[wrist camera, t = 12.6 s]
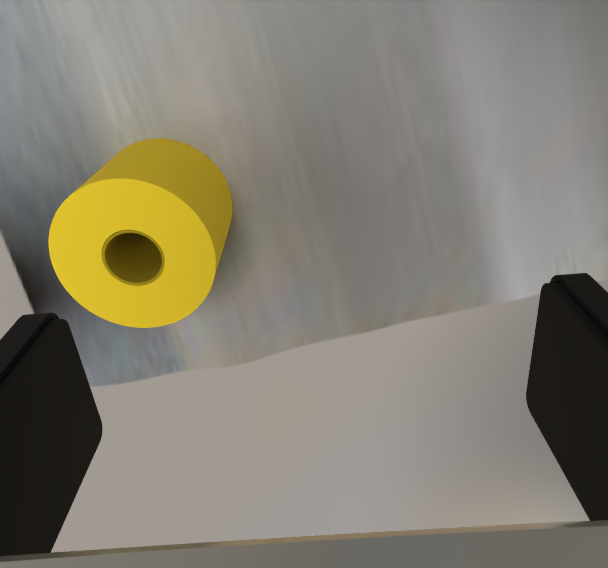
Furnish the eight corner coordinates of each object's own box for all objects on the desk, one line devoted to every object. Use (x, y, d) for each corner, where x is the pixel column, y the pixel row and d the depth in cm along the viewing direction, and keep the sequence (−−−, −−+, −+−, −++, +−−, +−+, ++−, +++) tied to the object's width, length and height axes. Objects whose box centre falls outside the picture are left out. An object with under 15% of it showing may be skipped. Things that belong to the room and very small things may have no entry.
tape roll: (138, 278, 44) (100, 345, 36) (75, 164, 40) (15, 210, 31) (252, 241, 43) (240, 302, 34) (199, 119, 38) (172, 154, 30)
